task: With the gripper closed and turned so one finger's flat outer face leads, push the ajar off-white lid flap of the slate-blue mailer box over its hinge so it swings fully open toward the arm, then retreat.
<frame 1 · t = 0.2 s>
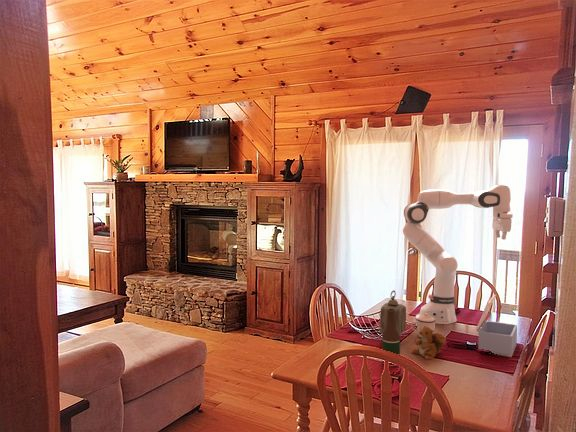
hand: (500, 238, 257), 47 cm above the table, fingers open, 8 cm apart
lid: (486, 312, 219), point 16 cm above the table, hinge at 70.0°
beer bottle: (390, 364, 198), on the table
stuffed squirrel: (429, 355, 209), on the table
brown cowbell: (393, 340, 229), on the table
box: (497, 347, 217), on the table
teacup with lid: (423, 336, 236), on the table
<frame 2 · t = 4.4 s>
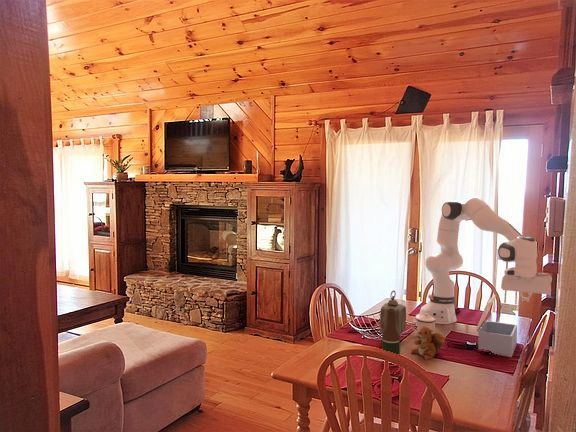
hand: (525, 301, 210), 24 cm above the table, fingers closed
nothing on the table moved.
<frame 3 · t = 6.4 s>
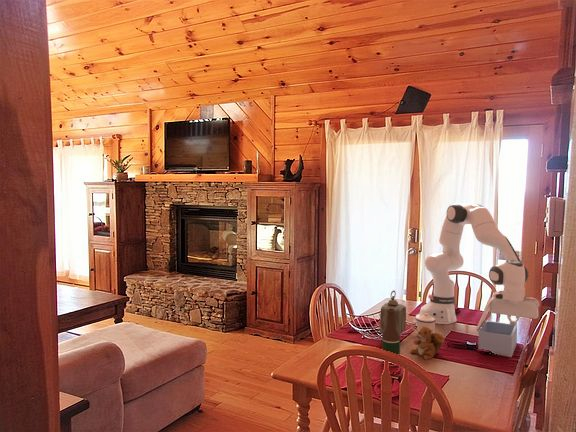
hand: (513, 324, 213), 12 cm above the table, fingers closed
nothing on the table moved.
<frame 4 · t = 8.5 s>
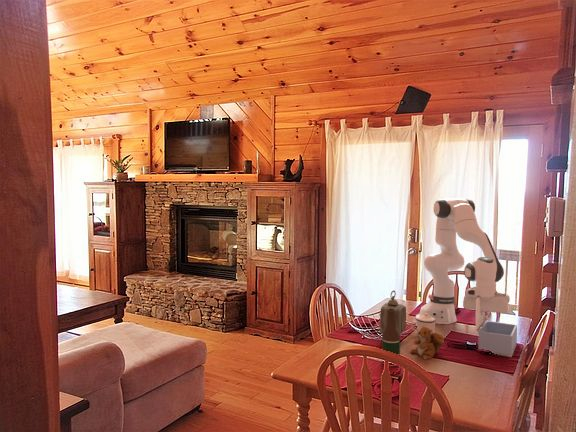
hand: (485, 320, 220), 12 cm above the table, fingers closed
lid: (480, 311, 221), point 17 cm above the table, hinge at 90.9°, touching arm, gripper
everything else where it was.
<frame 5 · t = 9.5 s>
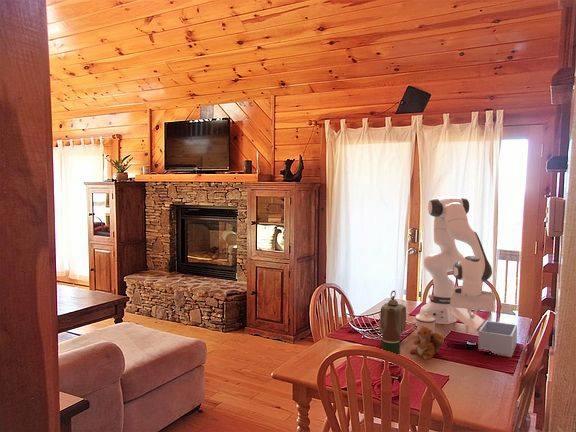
hand: (472, 318, 223), 13 cm above the table, fingers closed
lid: (467, 316, 224), point 13 cm above the table, hinge at 151.1°, touching gripper
everything else where it was.
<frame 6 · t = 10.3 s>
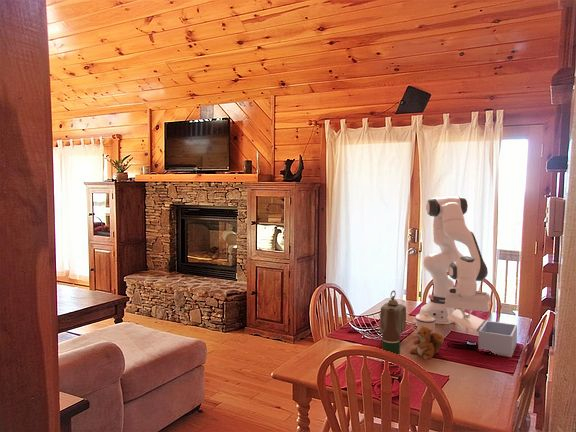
hand: (466, 318, 224), 12 cm above the table, fingers closed
lid: (466, 319, 224), point 11 cm above the table, hinge at 162.9°, touching gripper
everything else where it was.
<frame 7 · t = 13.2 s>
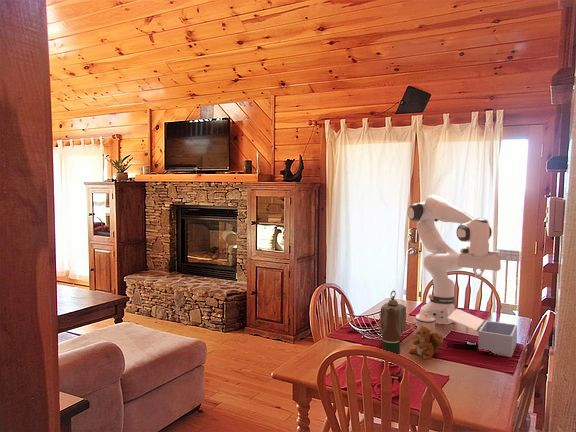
hand: (478, 277, 232), 31 cm above the table, fingers closed
lid: (466, 319, 224), point 11 cm above the table, hinge at 162.9°
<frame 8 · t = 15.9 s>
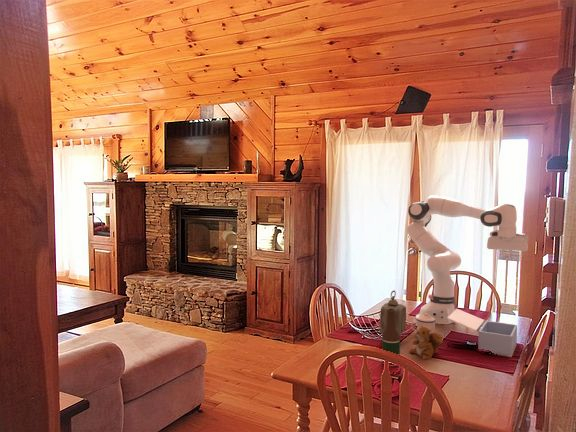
hand: (506, 258, 252), 37 cm above the table, fingers closed
at the end: lid at +163° (first picture: +70°) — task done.
